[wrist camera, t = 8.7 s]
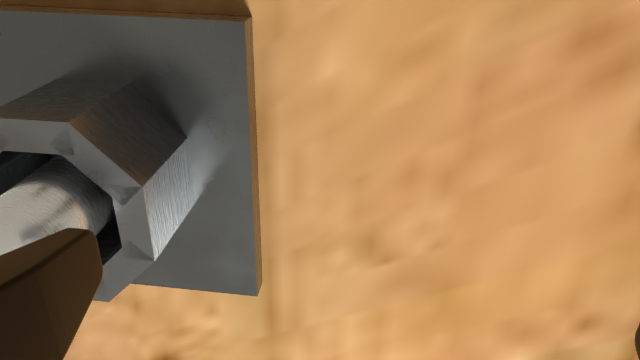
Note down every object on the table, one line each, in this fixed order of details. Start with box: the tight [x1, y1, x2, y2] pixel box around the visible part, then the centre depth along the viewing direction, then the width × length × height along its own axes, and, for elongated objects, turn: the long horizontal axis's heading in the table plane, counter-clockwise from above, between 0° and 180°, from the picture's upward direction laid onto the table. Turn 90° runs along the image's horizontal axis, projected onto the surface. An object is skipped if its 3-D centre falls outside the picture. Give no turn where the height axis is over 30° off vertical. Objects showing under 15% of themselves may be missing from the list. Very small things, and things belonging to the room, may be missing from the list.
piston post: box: [0, 5, 262, 296], centre depth 18 cm, size 12×12×7 cm
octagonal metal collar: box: [0, 80, 195, 302], centre depth 19 cm, size 7×7×4 cm
